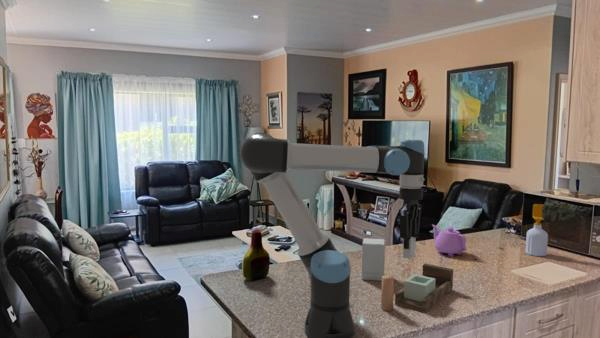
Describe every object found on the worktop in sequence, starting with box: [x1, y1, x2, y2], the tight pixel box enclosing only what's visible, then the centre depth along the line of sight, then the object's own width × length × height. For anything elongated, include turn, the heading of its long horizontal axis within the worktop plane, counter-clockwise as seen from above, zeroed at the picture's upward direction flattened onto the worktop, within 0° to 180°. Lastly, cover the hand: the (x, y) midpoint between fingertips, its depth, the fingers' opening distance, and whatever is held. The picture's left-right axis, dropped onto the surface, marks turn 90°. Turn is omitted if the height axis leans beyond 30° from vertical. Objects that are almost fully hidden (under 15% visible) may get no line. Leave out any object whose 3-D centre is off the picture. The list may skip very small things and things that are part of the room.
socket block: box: [403, 273, 436, 302], centre depth 159 cm, size 9×8×6 cm
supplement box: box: [361, 237, 386, 282], centre depth 184 cm, size 9×9×15 cm
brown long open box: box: [394, 263, 454, 313], centre depth 163 cm, size 26×11×8 cm, turn 142°
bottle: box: [241, 228, 271, 281], centre depth 181 cm, size 12×6×20 cm, turn 120°
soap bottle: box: [525, 203, 549, 257], centre depth 217 cm, size 9×9×25 cm
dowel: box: [380, 274, 395, 312], centre depth 153 cm, size 4×4×11 cm
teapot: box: [431, 224, 467, 258], centre depth 218 cm, size 20×14×12 cm
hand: (409, 256), depth 150 cm, fingers open, 2 cm apart
